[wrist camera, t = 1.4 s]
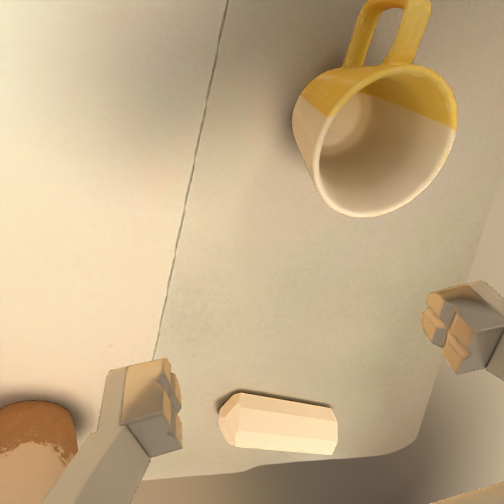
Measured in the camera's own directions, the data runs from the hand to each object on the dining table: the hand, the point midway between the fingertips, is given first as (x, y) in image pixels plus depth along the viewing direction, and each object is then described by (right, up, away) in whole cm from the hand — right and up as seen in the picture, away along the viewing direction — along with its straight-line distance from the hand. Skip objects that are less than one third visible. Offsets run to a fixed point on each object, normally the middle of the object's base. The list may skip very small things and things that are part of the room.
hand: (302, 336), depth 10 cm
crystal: (+3, -25, +50) cm, 56 cm away
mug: (+6, +17, +20) cm, 27 cm away
